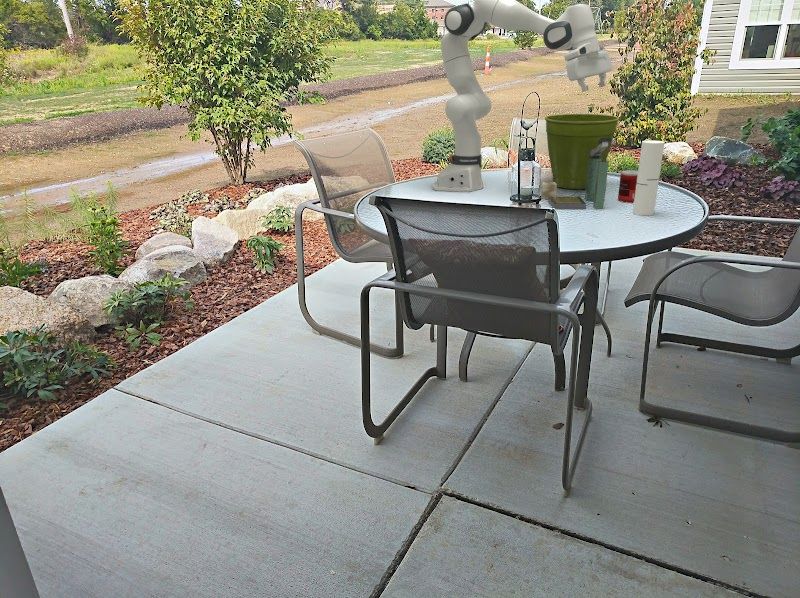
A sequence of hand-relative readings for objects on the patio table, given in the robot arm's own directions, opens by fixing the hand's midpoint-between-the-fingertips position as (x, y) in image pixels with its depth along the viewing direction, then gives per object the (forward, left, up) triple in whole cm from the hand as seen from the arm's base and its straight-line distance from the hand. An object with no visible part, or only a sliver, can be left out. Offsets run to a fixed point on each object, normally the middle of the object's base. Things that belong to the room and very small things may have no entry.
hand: (594, 89), depth 215 cm
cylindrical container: (+17, -20, -42) cm, 49 cm away
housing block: (-13, +4, -41) cm, 44 cm away
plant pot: (+2, +28, -42) cm, 50 cm away
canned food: (+17, 0, -42) cm, 45 cm away
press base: (-4, -5, -41) cm, 42 cm away
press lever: (+3, -5, -22) cm, 23 cm away
